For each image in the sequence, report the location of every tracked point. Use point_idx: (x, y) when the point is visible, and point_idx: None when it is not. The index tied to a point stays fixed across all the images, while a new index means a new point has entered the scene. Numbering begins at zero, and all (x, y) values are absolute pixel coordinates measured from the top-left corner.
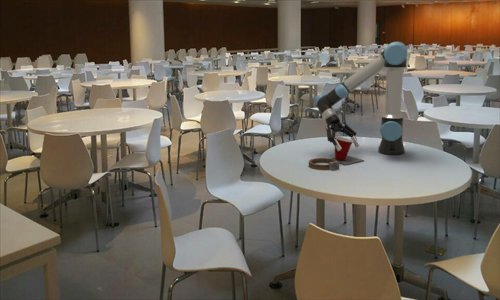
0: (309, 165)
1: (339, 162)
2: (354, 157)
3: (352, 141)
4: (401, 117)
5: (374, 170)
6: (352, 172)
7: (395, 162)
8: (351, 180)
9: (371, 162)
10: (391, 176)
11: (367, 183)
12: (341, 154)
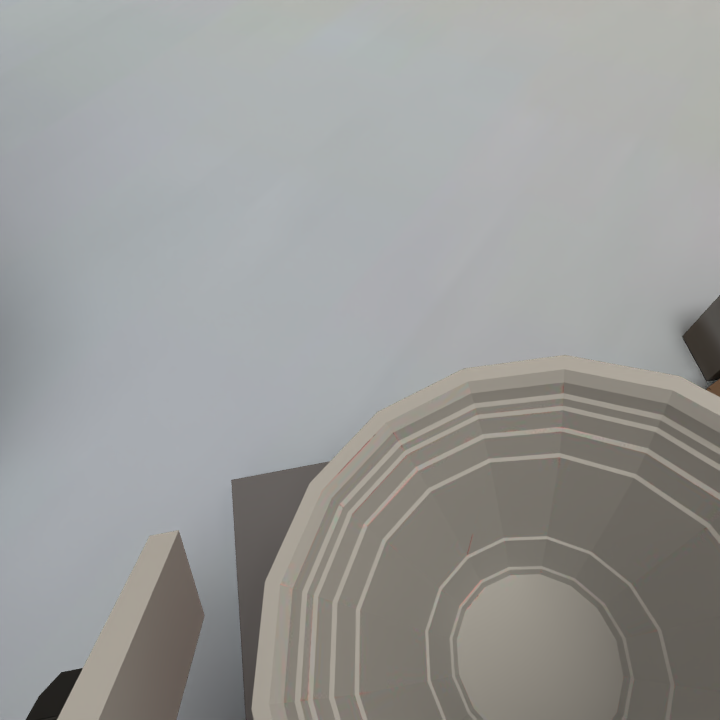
0: None
1: None
2: (247, 677)
3: (378, 428)
4: None
5: (369, 185)
6: (589, 206)
7: (5, 304)
8: (686, 68)
9: (196, 406)
10: (356, 53)
11: (598, 5)
12: (581, 547)
